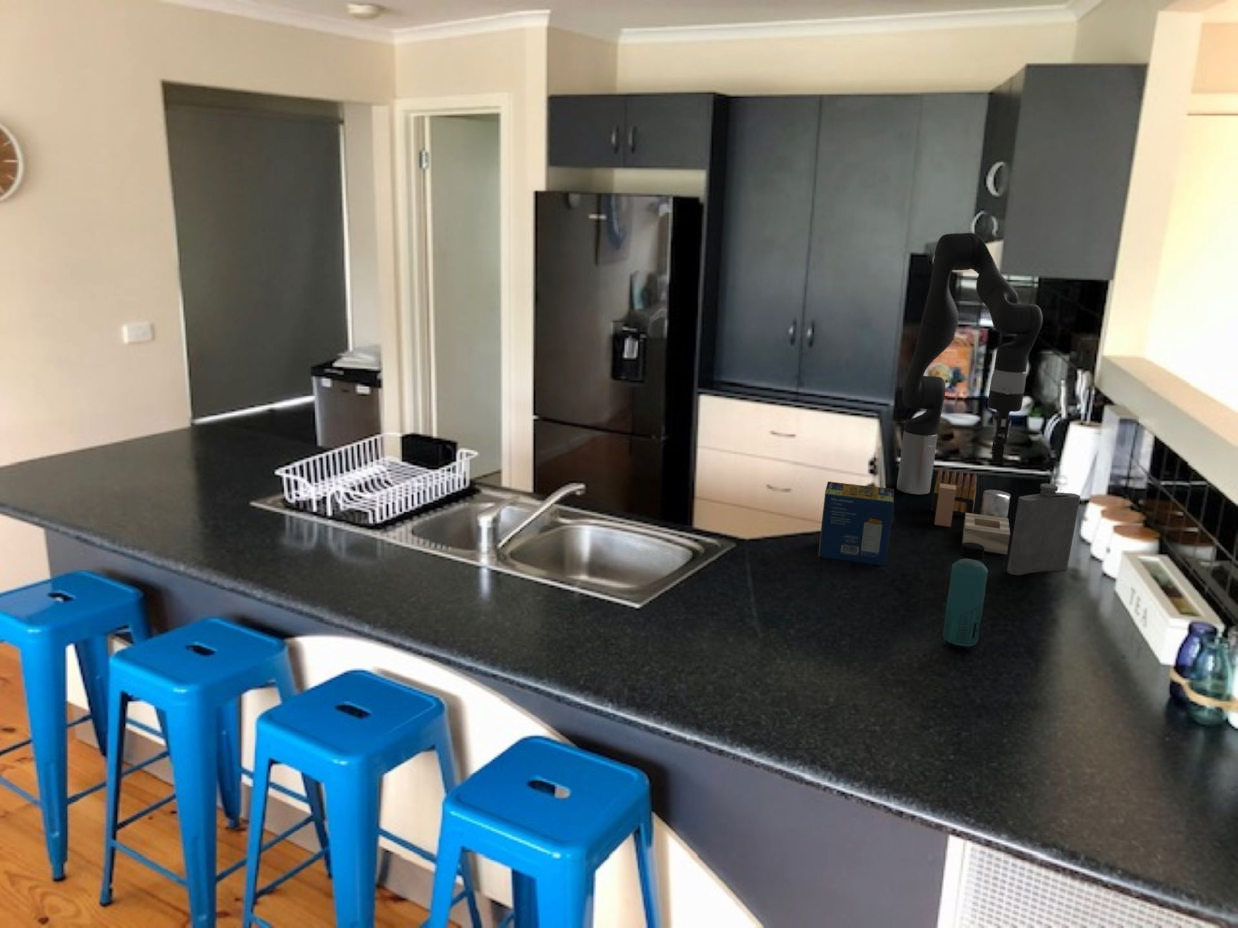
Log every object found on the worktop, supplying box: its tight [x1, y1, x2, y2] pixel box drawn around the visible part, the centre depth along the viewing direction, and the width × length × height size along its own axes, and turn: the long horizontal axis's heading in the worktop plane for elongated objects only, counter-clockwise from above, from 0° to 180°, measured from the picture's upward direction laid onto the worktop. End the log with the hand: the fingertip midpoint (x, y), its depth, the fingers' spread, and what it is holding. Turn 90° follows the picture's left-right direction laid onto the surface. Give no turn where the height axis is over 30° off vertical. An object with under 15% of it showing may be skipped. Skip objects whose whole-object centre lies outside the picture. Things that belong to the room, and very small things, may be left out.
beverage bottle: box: [942, 542, 989, 647], centre depth 174 cm, size 6×7×20 cm
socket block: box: [962, 513, 1011, 555], centre depth 233 cm, size 13×10×5 cm
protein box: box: [818, 481, 895, 567], centre depth 220 cm, size 10×15×16 cm
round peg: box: [979, 489, 1011, 519], centre depth 244 cm, size 6×6×9 cm
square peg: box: [934, 483, 957, 528], centre depth 245 cm, size 4×4×10 cm
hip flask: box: [1006, 483, 1081, 576], centre depth 214 cm, size 16×4×20 cm, turn 109°
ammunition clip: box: [930, 467, 977, 518], centre depth 253 cm, size 11×2×12 cm, turn 61°
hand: (996, 455), depth 228 cm, fingers open, 8 cm apart
